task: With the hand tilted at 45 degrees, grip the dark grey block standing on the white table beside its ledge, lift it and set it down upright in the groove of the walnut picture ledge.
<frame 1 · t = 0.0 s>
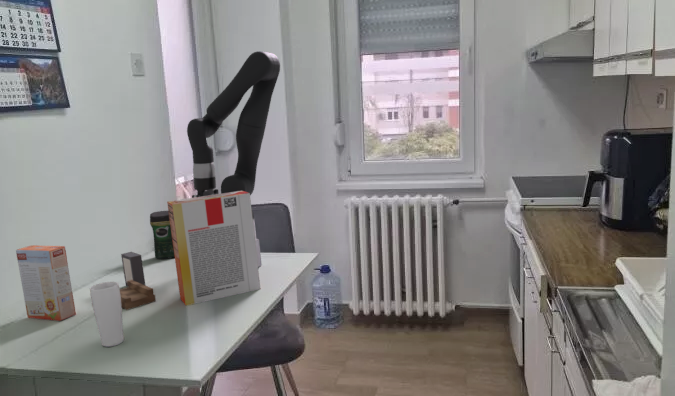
hand: (207, 220, 206), 17 cm above the table, tool pointing down, fingers open, 8 cm apart
pasta box: (220, 294, 178), on the table
coffee jar: (168, 257, 232), on the table
ledge: (130, 300, 179), on the table
dark grey block: (135, 286, 194), on the table
cracker box: (52, 317, 171), on the table
drinking glass: (113, 343, 146), on the table
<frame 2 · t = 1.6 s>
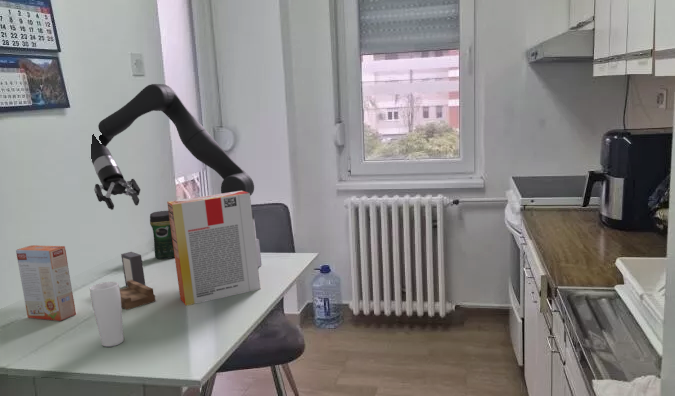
hand: (125, 206, 198), 26 cm above the table, tool tilted 45°, fingers open, 8 cm apart
nothing on the table moved.
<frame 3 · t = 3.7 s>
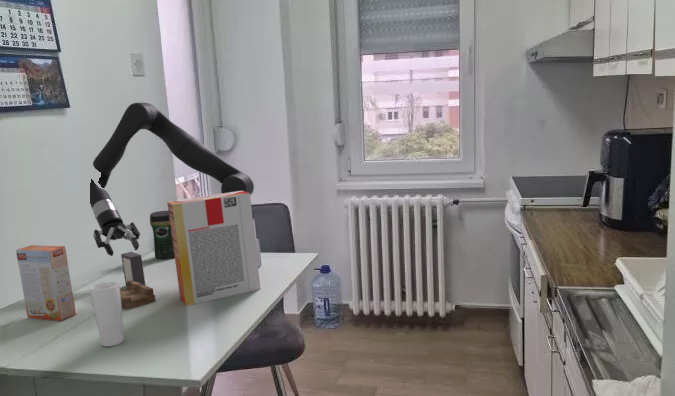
hand: (124, 251, 196), 11 cm above the table, tool tilted 45°, fingers open, 8 cm apart
nothing on the table moved.
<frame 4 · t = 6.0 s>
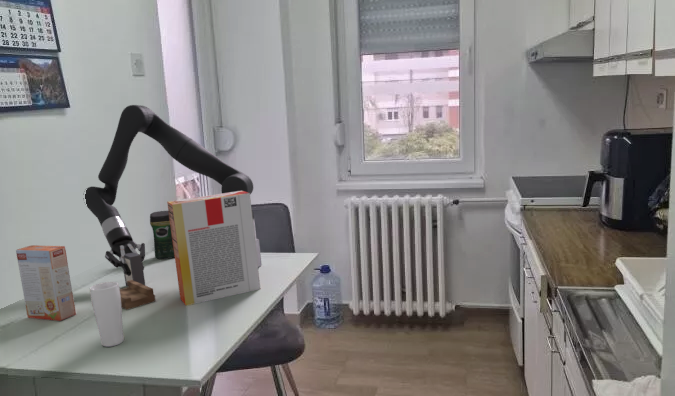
hand: (135, 272, 192), 5 cm above the table, tool tilted 45°, fingers closed on dark grey block, 3 cm apart
dark grey block: (135, 286, 194), on the table, touching gripper
everything else where it was.
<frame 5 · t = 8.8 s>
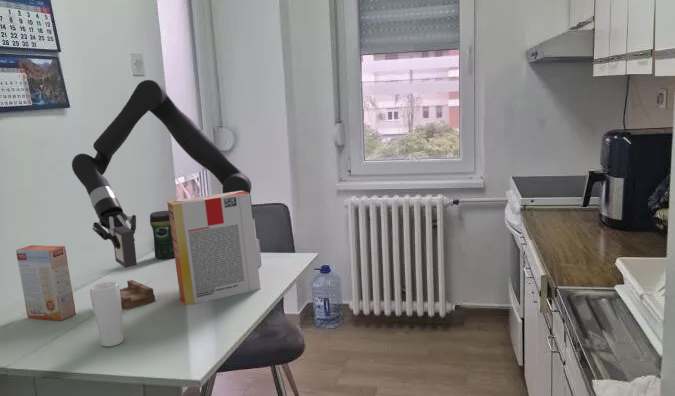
hand: (125, 245, 178), 17 cm above the table, tool tilted 45°, fingers closed on dark grey block, 3 cm apart
dark grey block: (126, 262, 181), point 11 cm above the table, tilted 6°, touching gripper
everything else where it was.
when the fingers open (9 cm above the table, at t = 11.5 s): dark grey block stays where it is, resting on ledge.
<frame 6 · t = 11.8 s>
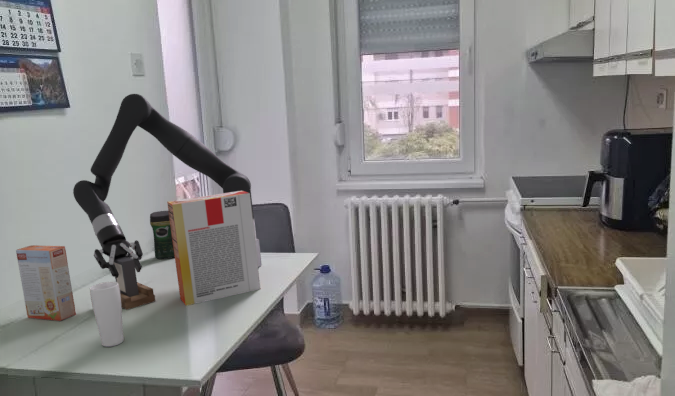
hand: (128, 273, 177), 9 cm above the table, tool tilted 45°, fingers open, 6 cm apart
dark grey block: (128, 293, 180), point 2 cm above the table, touching ledge
everything else where it was.
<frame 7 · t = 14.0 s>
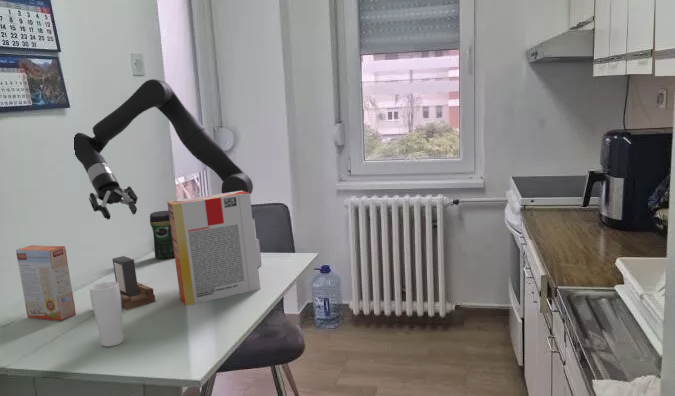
hand: (122, 215, 189), 25 cm above the table, tool tilted 45°, fingers open, 8 cm apart
nothing on the table moved.
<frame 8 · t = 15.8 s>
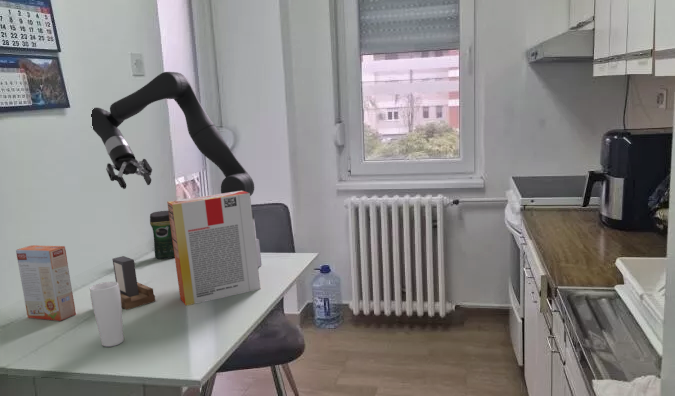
hand: (137, 185, 198), 33 cm above the table, tool tilted 45°, fingers open, 8 cm apart
nothing on the table moved.
at the end: dark grey block inside the target area on the ledge (0.9 cm from its centre), point 2.0 cm above the ledge's base; dark grey block tilted 0°; the gripper is holding nothing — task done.
